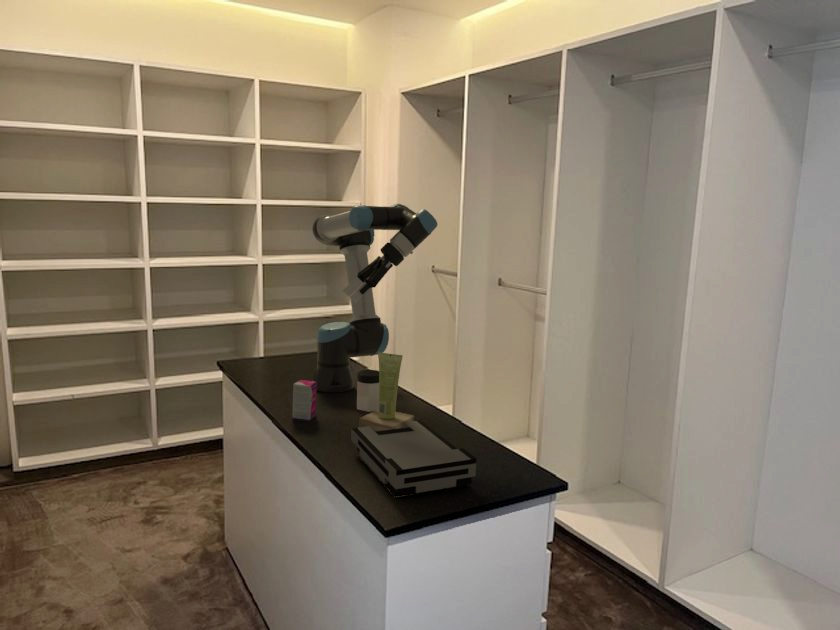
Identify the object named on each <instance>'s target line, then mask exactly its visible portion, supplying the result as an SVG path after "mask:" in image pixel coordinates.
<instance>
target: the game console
mask: <svg viewBox="0 0 840 630" xmlns="http://www.w3.org/2000/svg"><path fill="white" fill-rule="evenodd" d="M350 441H351V442H352V443H353V444H354V446H356V450H357V452H359V459H360V458H361V459H362V460H363V461H364V462H365V463H366V465H367V466H368V467H369V468H370V469H371V470H372V471H373V473H374V474H375V475H376V476H377V477H378V478H379V479H380V480H381V482H382V483H383V484H384V485H385V486H386V487H387V488H388V489H389V490H390V492H391V493H392V494H393V495H394V496H395V497H396V496H402V495H410V494H416V495H418V494H419V493H424V492H429V491H430V492H432V491H437V490H442V489H443V490H445V489H446V490H451V489H450V488H452V489H457V488H458V489H459V488H464V487H468V485H470V484H472V479H473V478H474V477H476V474H477V458H476V456H474V455H473V454H471V453H470V452H469V451H467V450H466V449H465V448H457V447H456V446H455V445H453V444H452V443H450V442H449V441H448V440H447V439H446V438H444V437H443V436H442V435H440V434H439V433H438V432H437V431H436V430H434V429H433V428H431V426H429V425H428V424H426V423H425V422H424V421H422V420H421V419H420V420H414V421H411V422H404V428H399V429H390V430H382V431H374V430H373V429H372V428H371V427H370V426H367V427H359V426H358V427H351V430H350ZM361 459H360V460H361ZM362 460H361V461H362ZM363 461H362V462H363ZM364 462H363V463H364ZM365 463H364V464H365ZM366 465H365V466H366ZM367 466H366V467H367ZM368 467H367V468H368ZM369 468H368V469H369ZM370 469H369V470H370ZM371 470H370V471H371ZM372 471H371V472H372ZM373 473H372V474H373ZM374 474H373V475H374ZM375 475H374V476H375ZM376 476H375V477H376ZM377 477H376V478H377ZM378 478H377V479H378ZM379 479H378V480H379ZM380 480H379V481H380ZM381 482H380V483H381ZM382 483H381V484H382ZM383 484H382V485H383ZM384 485H383V486H384ZM385 486H384V487H385ZM386 487H385V488H386ZM387 488H386V489H387ZM444 488H445V489H444ZM390 492H389V493H390ZM391 493H390V494H391ZM417 493H418V494H417ZM392 494H391V495H392ZM393 495H392V496H393ZM394 496H393V497H394Z"/></svg>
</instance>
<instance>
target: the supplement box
mask: <svg viewBox="0 0 840 630" xmlns="http://www.w3.org/2000/svg"><path fill="white" fill-rule="evenodd" d="M292 385H293V388H292V389H293V391H292V414H291V415H292V418H291V420H293V421H300V422H301V421H302V422H310V421H311V420H312V419H313V418H315V417H316V416H317V415H316V413H317V412H316V408H317V390H316V387H317V382H315V381H312V380H306V379H305V380H304V379H300V380H298V381H296V382H294V383H293V384H292Z"/></svg>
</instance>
